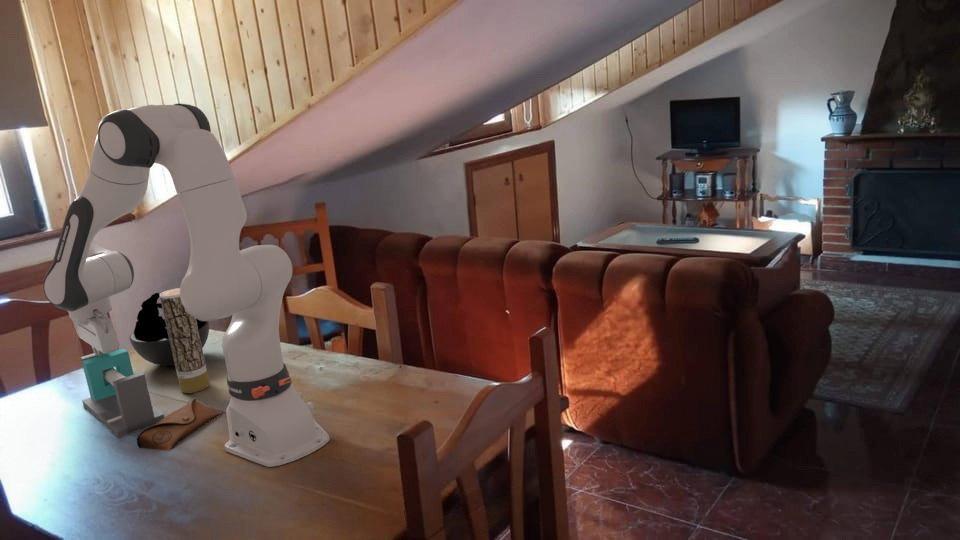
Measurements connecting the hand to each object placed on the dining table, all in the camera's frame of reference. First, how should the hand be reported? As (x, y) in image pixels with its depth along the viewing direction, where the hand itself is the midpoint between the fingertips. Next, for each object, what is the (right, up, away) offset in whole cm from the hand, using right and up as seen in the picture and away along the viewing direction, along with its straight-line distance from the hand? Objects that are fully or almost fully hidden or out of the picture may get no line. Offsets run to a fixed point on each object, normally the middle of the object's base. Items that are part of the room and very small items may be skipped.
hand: (103, 362), depth 174 cm
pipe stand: (+5, -12, -2) cm, 13 cm away
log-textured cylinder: (+18, -8, +8) cm, 22 cm away
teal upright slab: (+3, -7, -1) cm, 8 cm away
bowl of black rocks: (+6, -4, +27) cm, 28 cm away
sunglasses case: (+24, -14, -13) cm, 31 cm away
